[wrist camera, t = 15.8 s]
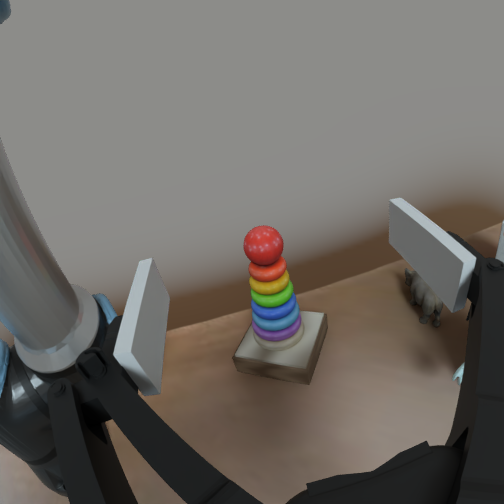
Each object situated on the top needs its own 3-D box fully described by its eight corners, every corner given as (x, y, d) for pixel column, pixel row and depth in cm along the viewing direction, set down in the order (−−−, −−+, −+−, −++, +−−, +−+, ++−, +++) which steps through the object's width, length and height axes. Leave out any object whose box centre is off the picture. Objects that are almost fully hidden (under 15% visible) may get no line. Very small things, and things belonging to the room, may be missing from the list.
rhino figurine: (414, 279, 58) (416, 254, 55) (443, 325, 46) (450, 299, 43) (396, 283, 58) (398, 258, 55) (424, 332, 46) (429, 306, 43)
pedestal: (237, 371, 49) (231, 356, 47) (263, 320, 58) (259, 304, 56) (309, 384, 44) (307, 369, 42) (327, 328, 53) (326, 311, 51)
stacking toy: (289, 360, 44) (267, 251, 34) (245, 344, 48) (212, 241, 39) (313, 324, 49) (299, 218, 40) (271, 312, 54) (248, 212, 44)
